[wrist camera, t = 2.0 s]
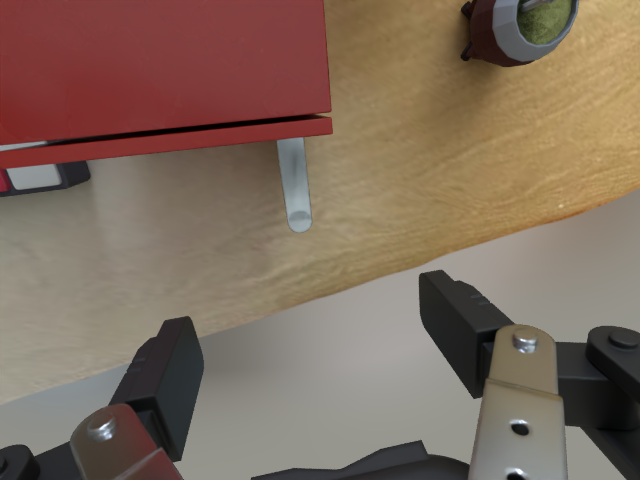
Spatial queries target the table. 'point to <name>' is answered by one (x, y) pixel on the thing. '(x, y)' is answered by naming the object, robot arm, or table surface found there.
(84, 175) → the calculator
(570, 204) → the table surface
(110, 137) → the red cabinet door
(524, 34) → the mate gourd
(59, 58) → the cabinet
